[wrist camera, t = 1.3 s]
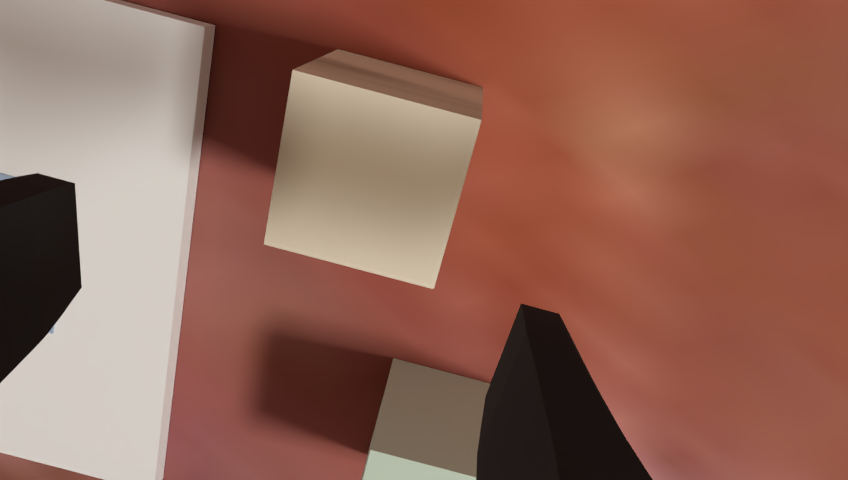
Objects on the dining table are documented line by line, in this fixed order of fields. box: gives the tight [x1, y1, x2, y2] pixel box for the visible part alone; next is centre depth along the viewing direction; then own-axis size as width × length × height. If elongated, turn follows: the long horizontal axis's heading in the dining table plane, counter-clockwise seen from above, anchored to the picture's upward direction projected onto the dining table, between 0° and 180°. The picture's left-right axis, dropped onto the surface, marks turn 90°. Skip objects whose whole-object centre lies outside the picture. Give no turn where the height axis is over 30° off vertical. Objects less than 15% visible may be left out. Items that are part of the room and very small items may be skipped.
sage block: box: [361, 358, 490, 480], centre depth 22 cm, size 4×4×5 cm
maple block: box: [264, 49, 483, 289], centre depth 18 cm, size 4×4×5 cm
